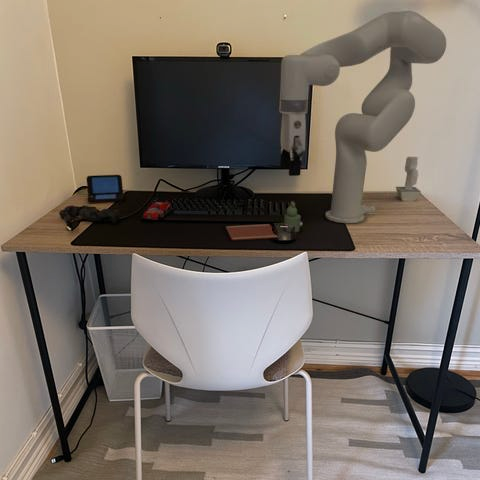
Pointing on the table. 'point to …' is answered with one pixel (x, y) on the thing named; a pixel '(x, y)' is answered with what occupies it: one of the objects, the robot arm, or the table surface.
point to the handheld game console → (104, 188)
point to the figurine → (409, 181)
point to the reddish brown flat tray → (251, 232)
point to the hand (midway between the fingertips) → (289, 171)
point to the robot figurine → (89, 214)
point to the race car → (157, 211)
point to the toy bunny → (293, 217)
